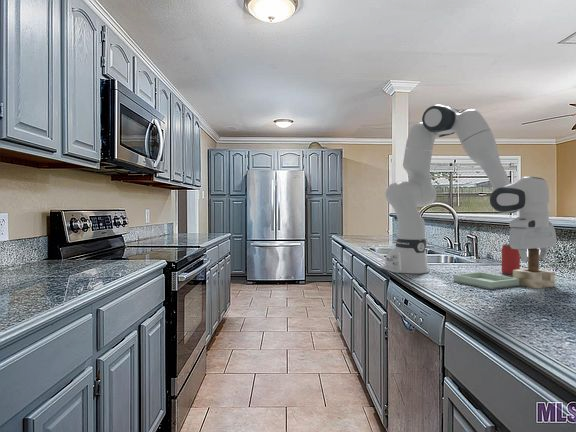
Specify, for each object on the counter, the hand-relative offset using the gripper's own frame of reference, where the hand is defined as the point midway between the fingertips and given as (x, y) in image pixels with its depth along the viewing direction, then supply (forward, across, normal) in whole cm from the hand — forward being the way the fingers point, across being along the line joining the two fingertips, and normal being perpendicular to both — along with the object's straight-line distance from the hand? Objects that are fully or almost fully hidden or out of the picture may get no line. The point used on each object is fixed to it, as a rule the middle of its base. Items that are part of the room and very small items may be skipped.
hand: (533, 260), depth 135 cm
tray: (+9, +13, -9) cm, 18 cm away
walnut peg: (+9, 0, 0) cm, 9 cm away
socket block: (+9, 0, 0) cm, 9 cm away
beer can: (+9, -14, -19) cm, 25 cm away
